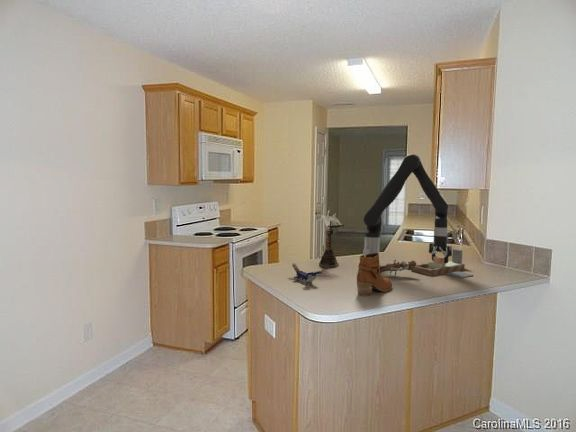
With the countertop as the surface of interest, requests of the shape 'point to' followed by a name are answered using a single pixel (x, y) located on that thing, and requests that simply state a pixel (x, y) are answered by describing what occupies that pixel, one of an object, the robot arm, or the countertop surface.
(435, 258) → the cube
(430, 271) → the lane board
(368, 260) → the boot
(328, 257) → the bird statue
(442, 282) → the countertop surface
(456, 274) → the pad
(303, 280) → the toy
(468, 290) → the countertop surface
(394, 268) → the figurine
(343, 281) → the countertop surface
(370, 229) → the robot arm
